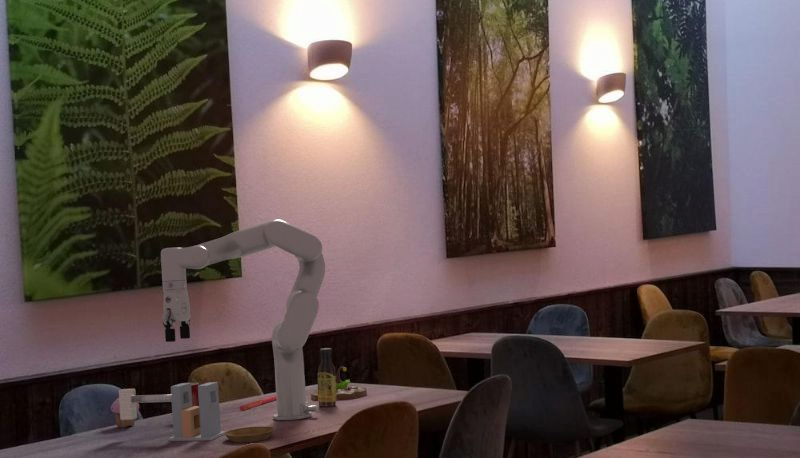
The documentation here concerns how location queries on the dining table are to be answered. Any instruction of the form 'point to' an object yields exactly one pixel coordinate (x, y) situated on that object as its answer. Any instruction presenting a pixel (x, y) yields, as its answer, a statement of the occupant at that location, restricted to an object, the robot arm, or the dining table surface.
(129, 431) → the dining table surface
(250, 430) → the plant saucer
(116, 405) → the cupcake
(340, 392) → the plant
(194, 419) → the orange square holed block
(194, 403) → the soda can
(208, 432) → the bearing stand
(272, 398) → the red long bar
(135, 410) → the shaft
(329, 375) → the sauce bottle
